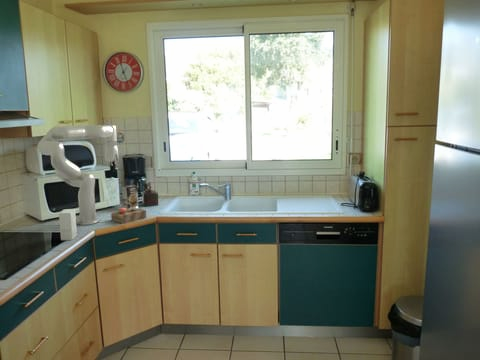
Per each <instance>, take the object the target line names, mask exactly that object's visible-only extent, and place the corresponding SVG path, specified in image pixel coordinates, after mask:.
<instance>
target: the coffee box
mask: <svg viewBox="0 0 480 360" xmlns="http://www.w3.org/2000/svg"><path fill="white" fill-rule="evenodd" d="M138 190H139V189H138V185H136V184H130V185H129V184H128V185H124V186H121V194H122V208H126V209H131V207H132V206H138V207H139V193H138Z"/></svg>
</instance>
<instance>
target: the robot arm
mask: <svg viewBox="0 0 480 360" xmlns="http://www.w3.org/2000/svg"><path fill="white" fill-rule="evenodd" d="M117 134H118V133H117V126H116V125H115V124H107V125H106V124H97V125H85V124H84V125H83V124H81V125H55V126H53V127H51V128H50V129H49V131H47V133H45V135H44V136H43V137H42V138H41V139H40V140H39V142H38V143H37V151H38V153H40V154H41V155H44V156H50V164H51V166H52V168H53V169H54V173H55V175H56V176H57V178H58V179H60V180H61V181H62V182H63V181H64V183H66V184H68V185H69V186H71V187H76V188H79V190H78V192H77V193H78V195H77V200H78V209H79V211H78V213H79V215H78V216H77V217H76V223H77V224H78V225H80V226H91V225H95V224H97V223H99V222H100V219H99V218H97V212H96V211H97V209H96V198H95V186H96V178H95V176H94V175H93V174H92V173H90V172H84V171H82V170H81V168H80V167H79V166H78V165H76V164H75V163H74V162H72V161H70V160H69V159H68V158H66V156H65V155H66V154H65V147H64V145H63V143H62V142H60V141H64V142H65V141H66V142H67V141H68V142H69V141H78V140H80V141H81V140H90V139H91V140H92V139H104V145H105V146H104V160H105V161H106V162H107V163H108V164H109V171H110V172H111V173H113V172H117V169H116V165H117V164H118V163H119V162H118V161H119V159H120V158H119V149H118V136H117Z"/></svg>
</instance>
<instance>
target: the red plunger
mask: <svg viewBox="0 0 480 360" xmlns="http://www.w3.org/2000/svg"><path fill="white" fill-rule="evenodd" d="M117 210H118V212H120V213H121V214H123V213H124V212H126V208H123V207H119V208H118V209H117Z"/></svg>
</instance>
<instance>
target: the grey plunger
mask: <svg viewBox="0 0 480 360" xmlns="http://www.w3.org/2000/svg"><path fill="white" fill-rule="evenodd" d="M139 209H140V208H139V205H138V206H132V207H131V211H137V210H139Z"/></svg>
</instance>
